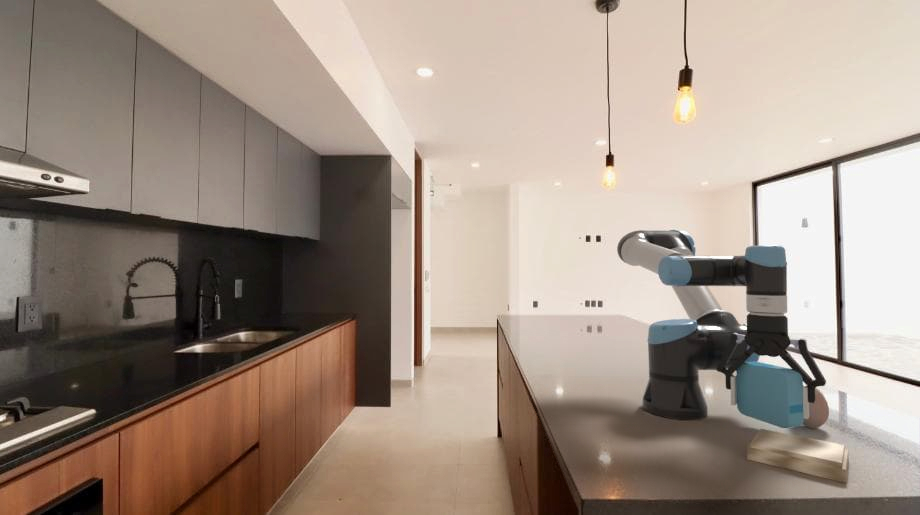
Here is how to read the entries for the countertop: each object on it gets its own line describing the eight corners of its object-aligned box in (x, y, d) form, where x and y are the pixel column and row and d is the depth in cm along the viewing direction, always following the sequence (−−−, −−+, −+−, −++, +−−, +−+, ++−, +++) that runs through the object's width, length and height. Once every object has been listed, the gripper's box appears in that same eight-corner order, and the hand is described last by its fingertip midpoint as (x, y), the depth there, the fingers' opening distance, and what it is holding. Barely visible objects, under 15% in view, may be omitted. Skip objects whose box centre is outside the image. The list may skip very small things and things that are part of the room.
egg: (835, 434, 95) (833, 389, 96) (799, 430, 98) (797, 387, 98) (821, 424, 102) (819, 382, 102) (787, 421, 104) (785, 380, 105)
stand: (747, 459, 82) (747, 443, 82) (758, 442, 91) (758, 427, 91) (846, 483, 72) (845, 464, 73) (848, 461, 81) (848, 445, 81)
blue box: (804, 428, 91) (803, 371, 92) (788, 430, 90) (787, 372, 91) (751, 410, 103) (750, 360, 103) (736, 412, 102) (735, 361, 102)
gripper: (701, 311, 103) (702, 402, 102) (838, 319, 86) (841, 428, 85) (709, 309, 108) (710, 395, 108) (840, 316, 92) (842, 419, 91)
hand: (768, 410), depth 97 cm, fingers closed on blue box, 12 cm apart
